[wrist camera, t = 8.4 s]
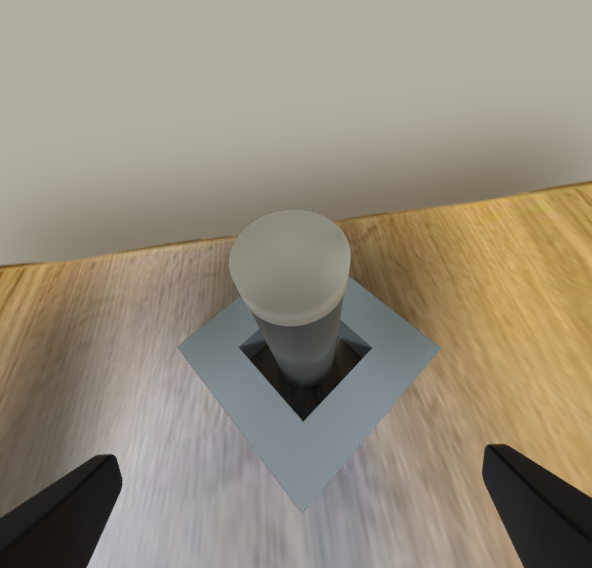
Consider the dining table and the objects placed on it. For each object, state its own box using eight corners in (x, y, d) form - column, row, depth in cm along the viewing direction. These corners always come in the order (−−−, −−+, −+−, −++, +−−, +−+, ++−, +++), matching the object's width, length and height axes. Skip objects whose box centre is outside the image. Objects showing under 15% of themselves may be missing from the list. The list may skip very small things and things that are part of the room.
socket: (305, 503, 16) (301, 514, 13) (195, 359, 20) (177, 346, 18) (424, 361, 19) (441, 348, 16) (307, 264, 23) (305, 242, 21)
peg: (320, 399, 18) (321, 330, 7) (269, 374, 19) (205, 282, 8) (342, 347, 20) (367, 228, 9) (294, 327, 21) (264, 197, 10)
